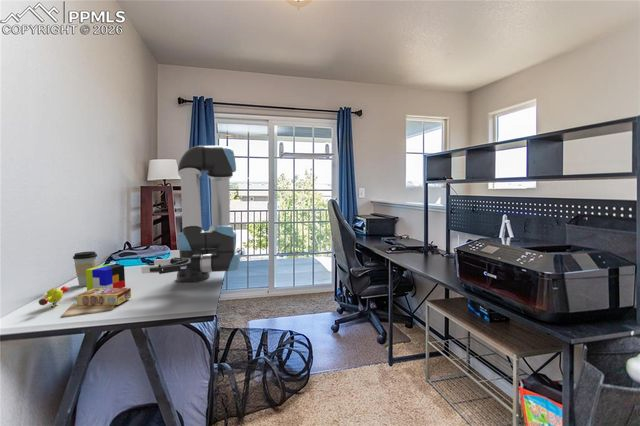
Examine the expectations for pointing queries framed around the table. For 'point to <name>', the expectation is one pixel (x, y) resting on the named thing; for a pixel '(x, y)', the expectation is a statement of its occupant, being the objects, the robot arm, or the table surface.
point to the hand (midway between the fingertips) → (148, 266)
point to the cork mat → (86, 309)
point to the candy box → (104, 296)
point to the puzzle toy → (105, 277)
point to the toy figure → (53, 296)
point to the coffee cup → (84, 265)
